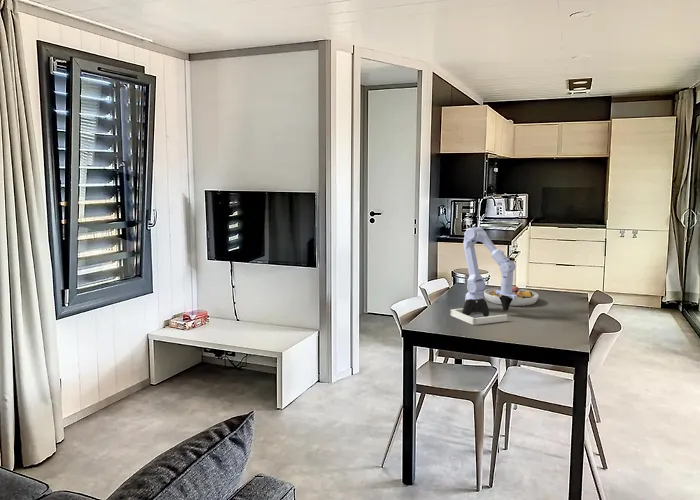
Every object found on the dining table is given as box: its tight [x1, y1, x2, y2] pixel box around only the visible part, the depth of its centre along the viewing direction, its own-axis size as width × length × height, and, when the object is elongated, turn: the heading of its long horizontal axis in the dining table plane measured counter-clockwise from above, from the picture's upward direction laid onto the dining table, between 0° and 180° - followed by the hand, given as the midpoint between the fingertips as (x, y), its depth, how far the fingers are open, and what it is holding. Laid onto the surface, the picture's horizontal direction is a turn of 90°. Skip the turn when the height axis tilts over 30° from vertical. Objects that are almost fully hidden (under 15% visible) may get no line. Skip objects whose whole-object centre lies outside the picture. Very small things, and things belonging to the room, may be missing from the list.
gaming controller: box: [462, 298, 490, 317], centre depth 279 cm, size 14×6×10 cm, turn 99°
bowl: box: [483, 285, 539, 307], centre depth 318 cm, size 30×30×8 cm
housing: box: [449, 308, 508, 326], centre depth 279 cm, size 20×20×3 cm
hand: (505, 310), depth 286 cm, fingers closed
